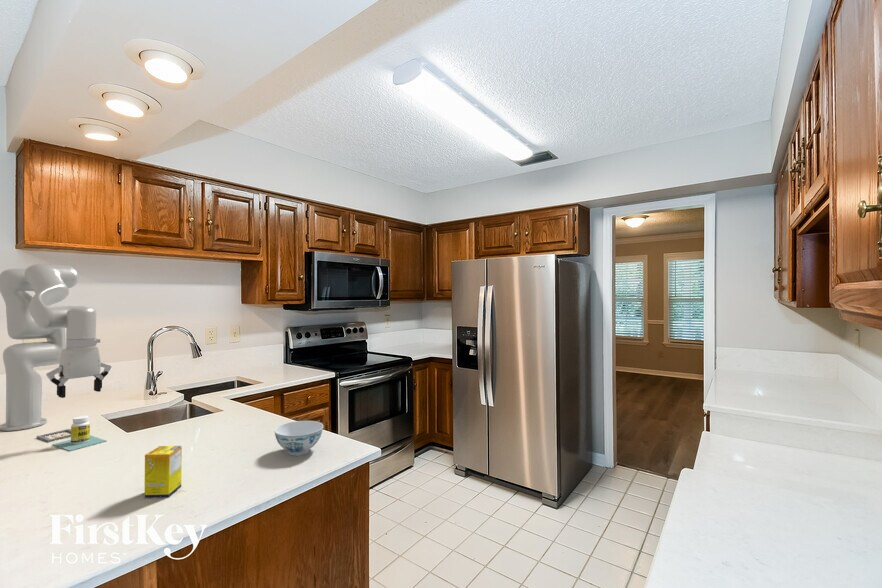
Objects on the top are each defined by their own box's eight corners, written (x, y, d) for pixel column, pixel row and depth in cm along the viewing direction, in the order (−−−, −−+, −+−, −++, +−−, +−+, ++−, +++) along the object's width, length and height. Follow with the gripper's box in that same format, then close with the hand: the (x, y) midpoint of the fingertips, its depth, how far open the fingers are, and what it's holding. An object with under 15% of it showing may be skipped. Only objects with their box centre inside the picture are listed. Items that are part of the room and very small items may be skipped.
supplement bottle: (78, 445, 134) (78, 419, 134) (66, 444, 135) (67, 418, 135) (93, 440, 139) (93, 415, 139) (82, 439, 140) (82, 414, 140)
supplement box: (158, 487, 106) (158, 445, 106) (182, 486, 106) (182, 445, 106) (143, 498, 100) (143, 454, 100) (168, 497, 100) (169, 453, 100)
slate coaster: (36, 437, 141) (36, 436, 141) (69, 430, 149) (69, 428, 149) (48, 442, 137) (48, 440, 137) (81, 434, 145) (81, 432, 145)
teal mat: (52, 445, 135) (52, 444, 135) (89, 435, 144) (89, 435, 144) (69, 451, 129) (69, 450, 129) (106, 441, 138) (106, 440, 138)
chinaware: (332, 446, 135) (332, 423, 135) (303, 463, 121) (303, 438, 121) (295, 440, 140) (295, 418, 140) (263, 456, 126) (263, 432, 126)
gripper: (105, 340, 146) (104, 387, 146) (42, 345, 131) (41, 398, 131) (116, 342, 143) (115, 390, 143) (52, 347, 127) (51, 401, 127)
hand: (80, 394), depth 137 cm, fingers open, 9 cm apart
